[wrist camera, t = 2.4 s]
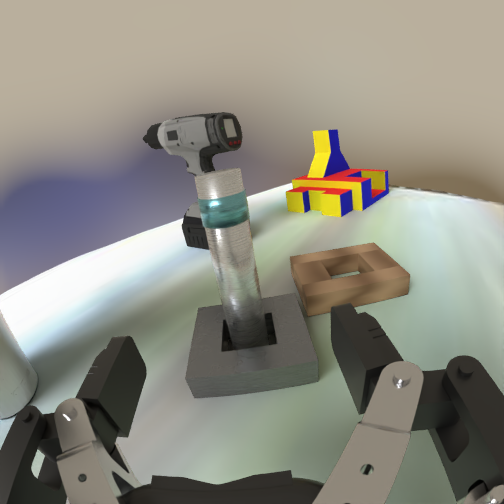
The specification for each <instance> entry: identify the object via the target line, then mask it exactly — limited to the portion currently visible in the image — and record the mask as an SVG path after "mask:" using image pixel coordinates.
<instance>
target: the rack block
mask: <svg viewBox="0 0 504 504" xmlns="http://www.w3.org/2000/svg"><path fill="white" fill-rule="evenodd" d="M290 263H291V272H292V276H293V279H294V281H295V284H296V286H297V289H298V292H299V294H300V297H301V300H302V302H303V305H304V307H305V310H306V313H307V316H313V315H319V314H324V313H329V312H331V307H332V306H336V305H341V304H345V303H351V304H352V305H353V307H357V306H361V305H365V304H370V303H374V302H378V301H382V300H386V299H390V298H394V297H398V296H402V295H406V294H408V289H409V281H410V274H409V273H408V272H407V271H406V270H405V269H403V268H402V267H401V266H400V265H399V264H398V263H397V262H396V261H394V260H393V259H392V258H391V257H390V256H389V255H388V254H387V253H385V252H384V251H383V250H382V249H381V248H380V247H378V246H377V245H376V244H375V243H368V244H363V245H357V246H351V247H345V248H339V249H333V250H328V251H322V252H316V253H310V254H304V255H298V256H292V257H290ZM354 271H359V272H360V273H361V274H357V275H352V276H347V277H342V278H336V279H332V278H331V277H330V276H333V275H338V274H343V273H348V272H354Z"/></svg>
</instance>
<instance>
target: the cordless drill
mask: <svg viewBox="0 0 504 504" xmlns="http://www.w3.org/2000/svg"><path fill="white" fill-rule="evenodd" d="M143 140H144V141H145V142H146V143H148V144H149V146H150V147H151V148H154V149H162V148H164V149H165V150H166V151H167V152H168V153H169V154H170V155H180V156H182V157H183V158H184V159H185V160H186V163H187V167H188V168H187V171H188V173H192V174H194V175H195V176H198V175H201V174H204V173H208V172H212V171H215V169H214V167H213V163H212V157H213V156H214V155H215V154H218V153H223V152H228V151H235V150H238V149H239V148H240V147H241V143H242V132H241V126H240V124H239V122H238V120H237V118H236V116H235V115H233V114H231V113H224V112H222V113H211V114H200V115H193V116H186V117H179V118H175V119H171V120H168V121H165V122H163V123H159V124H155V125H152V126H151V127H150V128H149V129H148V131H147V135H145V136H144V137H143ZM249 225H250V221H249ZM182 230H183V233H184V237H185V240H186V243H187V246H190V247H196V248H203V249H209V244H208V240H207V235H206V231H205V227H204V226H203V223H202V219H201V214H200V209H199V204H198V202H195V203H193V204H192V205H191V206H190V208H189V209H188V210H187V212H186V213H185V215H184V219H183V224H182ZM209 250H210V249H209Z"/></svg>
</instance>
